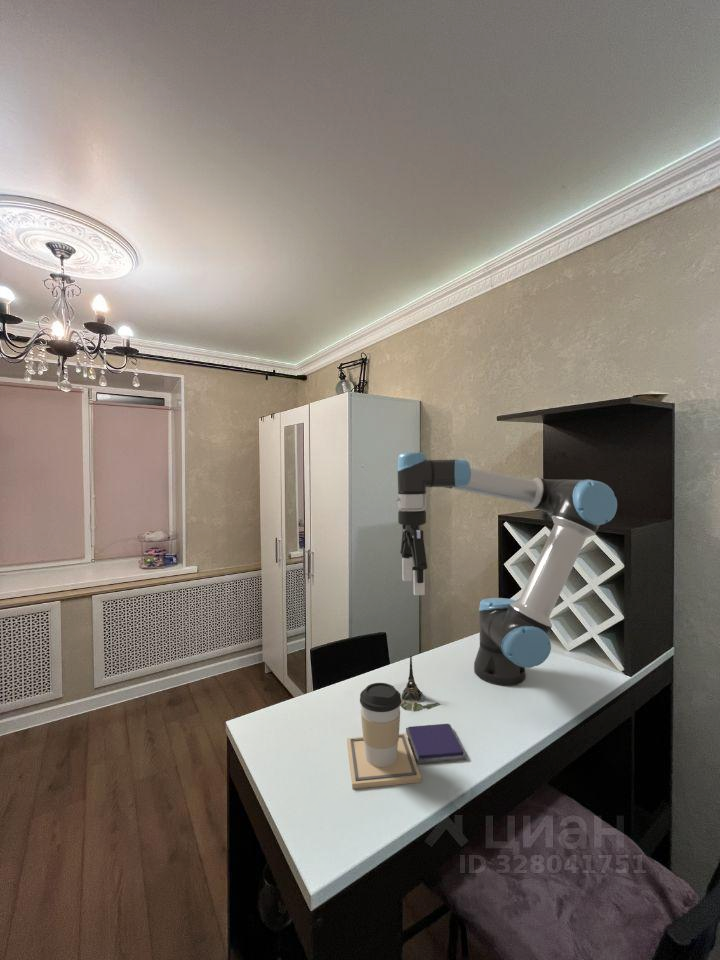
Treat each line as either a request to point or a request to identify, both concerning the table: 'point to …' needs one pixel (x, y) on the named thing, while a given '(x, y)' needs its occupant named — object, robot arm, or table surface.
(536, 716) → the table surface
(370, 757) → the coffee cup
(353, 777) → the square wooden board
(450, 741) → the ink pad
